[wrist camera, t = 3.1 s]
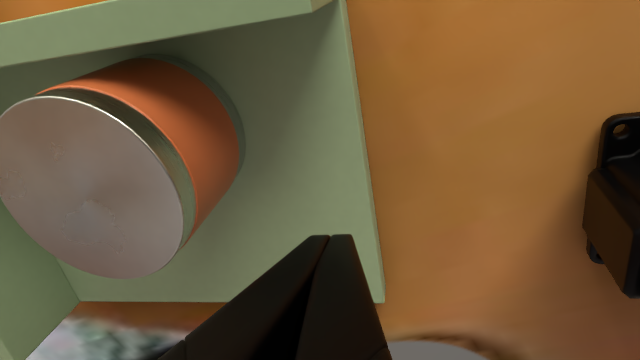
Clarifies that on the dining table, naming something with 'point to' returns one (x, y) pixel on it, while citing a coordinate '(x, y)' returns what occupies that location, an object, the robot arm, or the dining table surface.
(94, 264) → the tin can
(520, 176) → the dining table surface
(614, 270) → the robot arm
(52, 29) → the green corner tray
